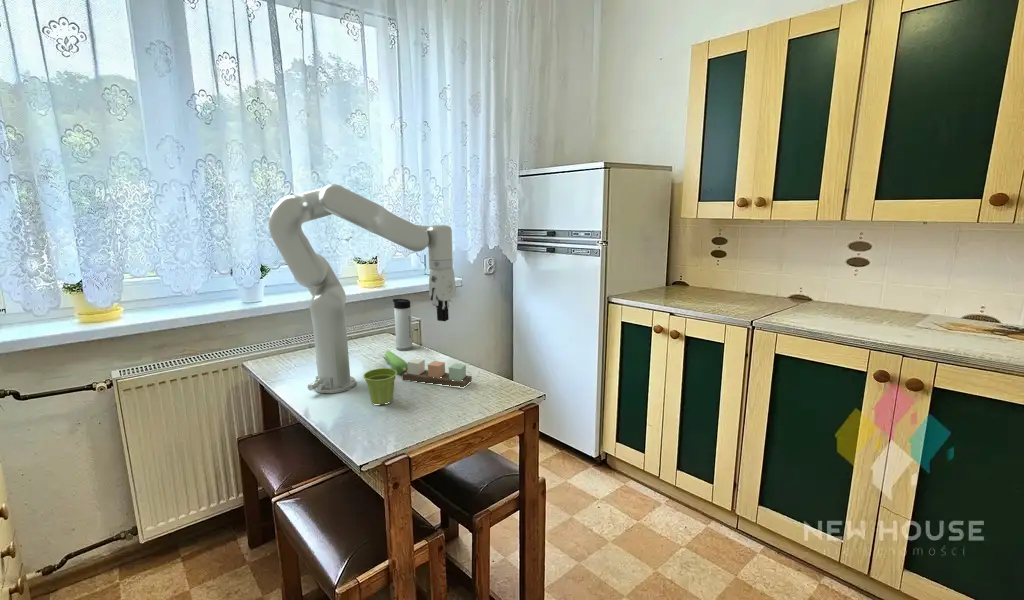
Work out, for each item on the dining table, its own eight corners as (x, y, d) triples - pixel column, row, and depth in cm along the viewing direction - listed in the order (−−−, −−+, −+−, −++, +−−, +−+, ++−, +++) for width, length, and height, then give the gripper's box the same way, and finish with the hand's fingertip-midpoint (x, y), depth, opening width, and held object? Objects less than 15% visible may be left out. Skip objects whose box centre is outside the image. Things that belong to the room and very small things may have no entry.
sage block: (460, 381, 153) (460, 369, 152) (449, 379, 155) (448, 367, 154) (466, 376, 157) (465, 364, 156) (454, 375, 158) (454, 363, 157)
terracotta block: (439, 378, 156) (438, 366, 155) (428, 376, 157) (427, 364, 156) (445, 373, 159) (444, 362, 159) (434, 372, 161) (433, 360, 160)
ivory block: (418, 375, 158) (418, 363, 157) (407, 373, 160) (407, 362, 159) (424, 371, 162) (424, 359, 161) (414, 369, 163) (413, 358, 162)
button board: (463, 388, 152) (463, 382, 152) (402, 380, 160) (402, 374, 159) (471, 382, 158) (471, 376, 157) (412, 373, 165) (412, 368, 165)
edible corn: (394, 366, 161) (407, 360, 162) (379, 351, 178) (390, 345, 180) (399, 379, 162) (412, 373, 164) (384, 363, 179) (395, 358, 181)
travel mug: (394, 347, 193) (391, 298, 189) (410, 345, 196) (408, 296, 192) (397, 352, 188) (394, 301, 183) (414, 349, 190) (411, 299, 186)
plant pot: (382, 411, 137) (380, 382, 135) (358, 404, 142) (356, 376, 140) (405, 399, 145) (403, 371, 143) (381, 393, 150) (379, 366, 148)
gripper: (440, 268, 147) (442, 327, 151) (461, 261, 161) (463, 315, 165) (418, 267, 150) (421, 325, 154) (441, 260, 164) (443, 314, 168)
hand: (442, 320), depth 160 cm, fingers closed
